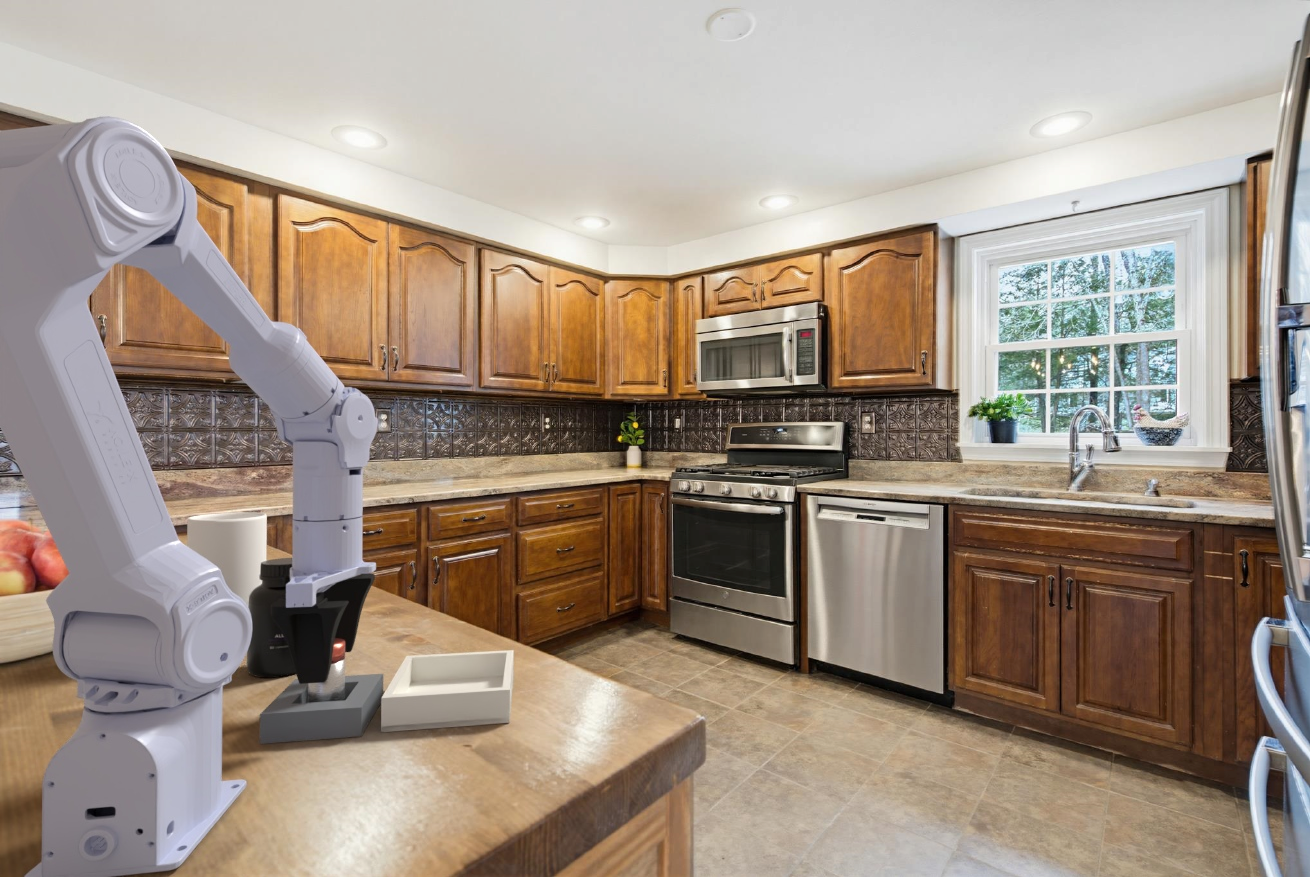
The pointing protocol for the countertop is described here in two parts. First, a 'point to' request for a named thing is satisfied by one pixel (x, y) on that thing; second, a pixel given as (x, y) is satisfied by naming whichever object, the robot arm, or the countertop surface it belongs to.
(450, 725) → the pin tray
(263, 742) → the gray square holder
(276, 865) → the countertop surface
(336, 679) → the stop pin
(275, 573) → the supplement bottle
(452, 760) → the countertop surface
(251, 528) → the cup
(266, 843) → the countertop surface
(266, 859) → the countertop surface
